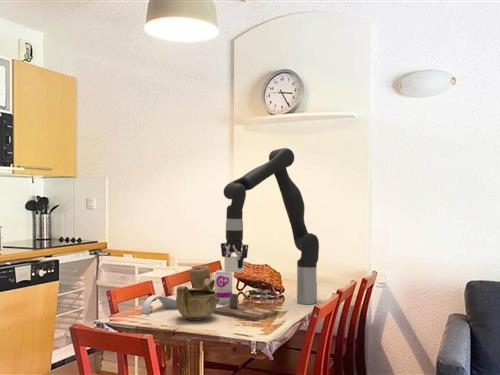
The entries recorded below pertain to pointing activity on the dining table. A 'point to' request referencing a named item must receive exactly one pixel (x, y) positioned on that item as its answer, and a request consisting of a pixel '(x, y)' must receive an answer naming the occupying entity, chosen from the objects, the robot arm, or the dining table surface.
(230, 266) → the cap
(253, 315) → the post board
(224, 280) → the supplement can
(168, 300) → the grey sandal
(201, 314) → the ceramic bowl
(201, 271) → the stone cup
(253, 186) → the robot arm
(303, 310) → the dining table surface
